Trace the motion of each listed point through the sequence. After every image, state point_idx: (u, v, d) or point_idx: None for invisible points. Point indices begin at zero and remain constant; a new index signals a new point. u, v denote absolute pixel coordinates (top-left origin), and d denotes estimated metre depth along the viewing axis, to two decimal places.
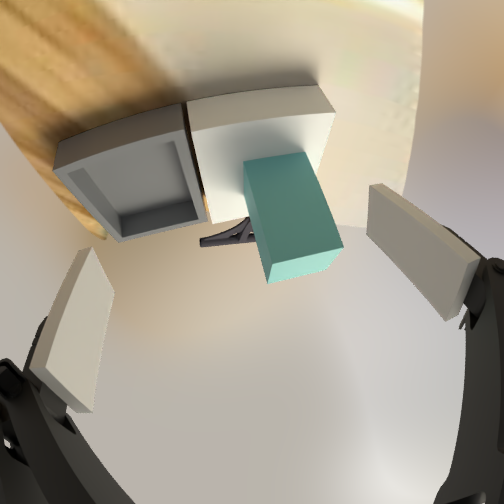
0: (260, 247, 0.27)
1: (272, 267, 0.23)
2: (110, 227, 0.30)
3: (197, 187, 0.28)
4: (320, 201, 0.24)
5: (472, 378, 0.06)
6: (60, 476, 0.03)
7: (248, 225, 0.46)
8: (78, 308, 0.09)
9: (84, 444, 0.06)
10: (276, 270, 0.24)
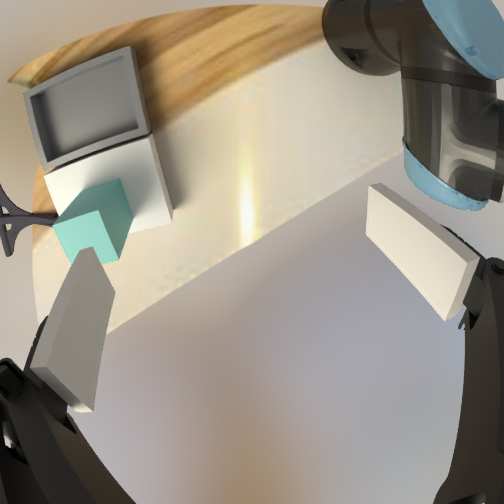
0: (75, 208, 0.27)
1: (90, 213, 0.25)
2: (47, 85, 0.24)
3: (88, 152, 0.31)
4: (124, 235, 0.32)
5: (471, 378, 0.06)
6: (61, 476, 0.04)
7: (22, 217, 0.35)
8: (79, 308, 0.09)
9: (85, 444, 0.06)
10: (83, 219, 0.25)
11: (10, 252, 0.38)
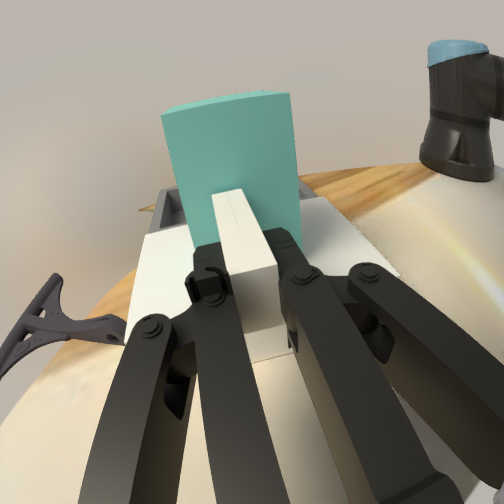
0: None
1: None
2: None
3: None
4: None
5: (320, 409, 0.06)
6: (240, 408, 0.05)
7: (59, 322, 0.20)
8: None
9: None
10: None
11: None
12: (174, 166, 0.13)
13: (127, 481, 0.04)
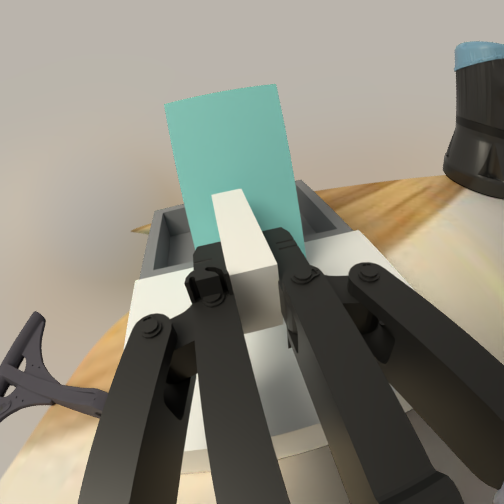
0: None
1: None
2: None
3: None
4: None
5: (320, 409, 0.06)
6: (241, 408, 0.05)
7: (40, 381, 0.15)
8: None
9: None
10: None
11: None
12: (174, 149, 0.14)
13: (127, 481, 0.04)
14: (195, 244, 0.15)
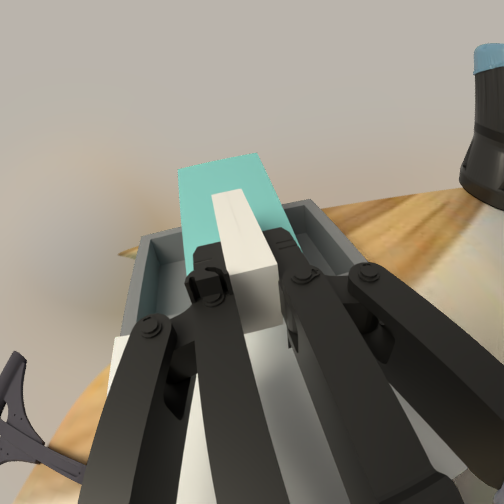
0: None
1: None
2: None
3: None
4: None
5: (320, 409, 0.06)
6: (240, 408, 0.05)
7: (23, 437, 0.11)
8: None
9: None
10: None
11: None
12: (180, 189, 0.19)
13: (127, 481, 0.04)
14: (185, 247, 0.15)
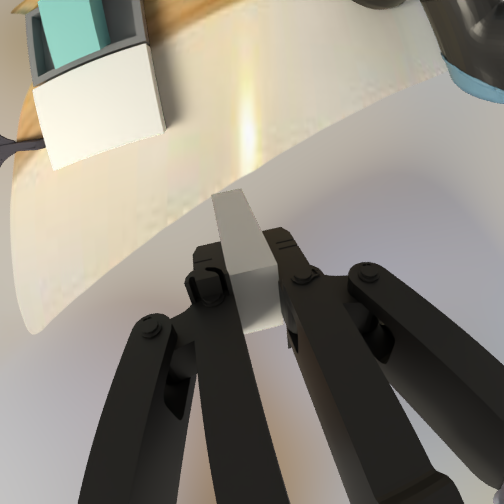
0: None
1: None
2: None
3: (81, 61, 0.24)
4: (92, 9, 0.18)
5: (320, 409, 0.06)
6: (241, 408, 0.05)
7: (5, 146, 0.28)
8: None
9: None
10: None
11: None
12: (42, 18, 0.16)
13: (127, 481, 0.04)
14: (51, 53, 0.20)
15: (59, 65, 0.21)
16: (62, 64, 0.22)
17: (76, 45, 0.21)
